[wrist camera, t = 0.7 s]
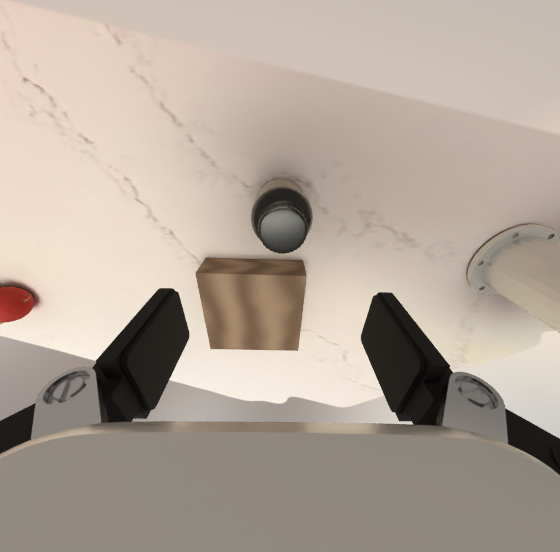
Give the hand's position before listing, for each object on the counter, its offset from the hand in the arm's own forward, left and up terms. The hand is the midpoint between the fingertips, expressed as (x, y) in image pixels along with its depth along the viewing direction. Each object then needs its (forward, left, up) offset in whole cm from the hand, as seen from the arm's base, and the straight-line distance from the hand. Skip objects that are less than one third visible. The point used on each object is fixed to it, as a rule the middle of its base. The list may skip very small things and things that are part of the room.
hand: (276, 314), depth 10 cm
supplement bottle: (0, 0, -24) cm, 24 cm away
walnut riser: (+4, +17, -23) cm, 29 cm away
